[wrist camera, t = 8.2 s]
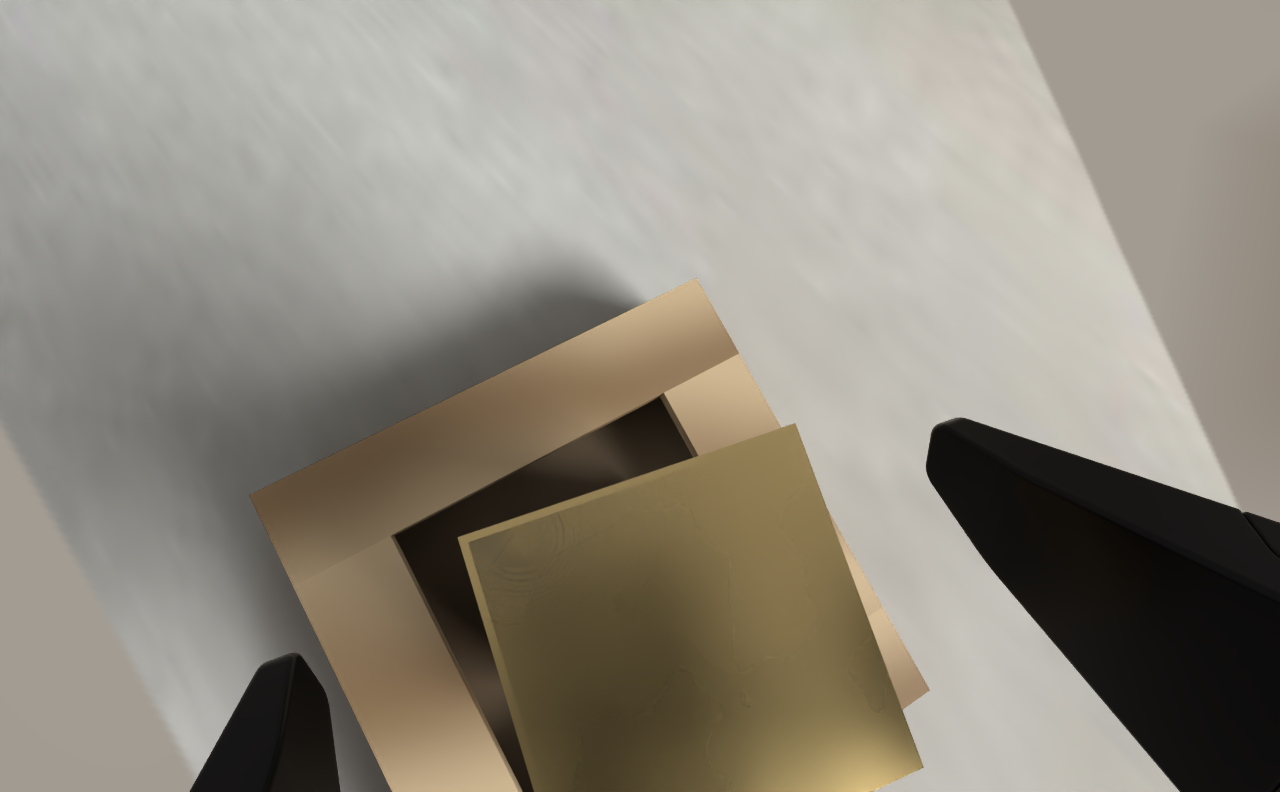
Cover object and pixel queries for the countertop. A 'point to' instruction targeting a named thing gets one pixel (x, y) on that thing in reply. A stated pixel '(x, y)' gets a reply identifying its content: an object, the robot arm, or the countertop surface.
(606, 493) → the tea canister
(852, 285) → the countertop surface
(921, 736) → the countertop surface
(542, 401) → the caddy
